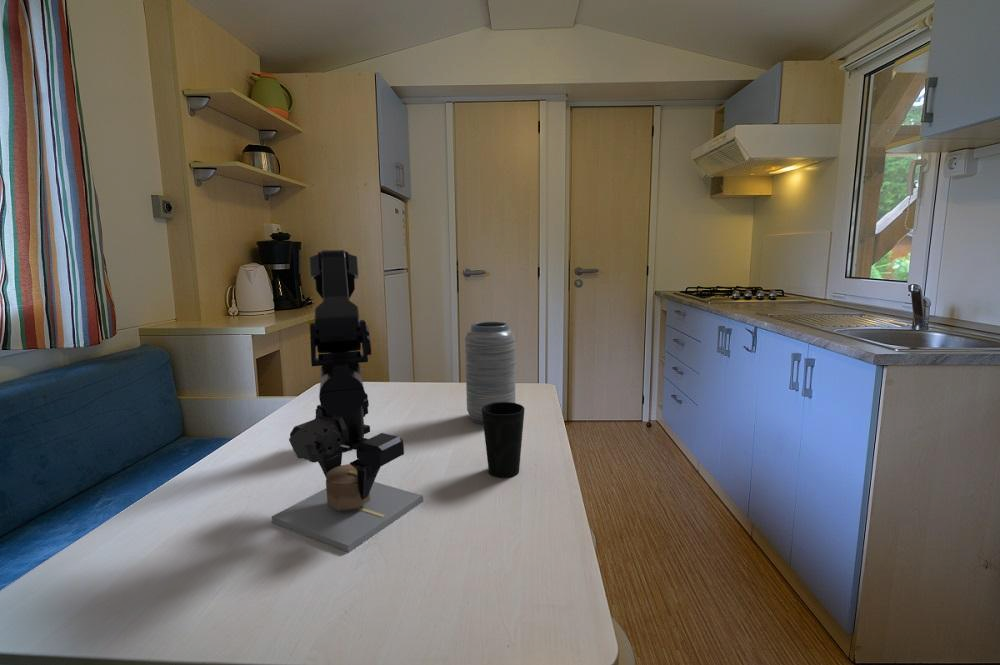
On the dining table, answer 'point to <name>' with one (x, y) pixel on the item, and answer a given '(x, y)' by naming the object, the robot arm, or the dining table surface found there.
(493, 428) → the cup
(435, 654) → the dining table surface
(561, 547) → the dining table surface
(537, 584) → the dining table surface
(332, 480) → the knob
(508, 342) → the vase
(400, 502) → the base plate
